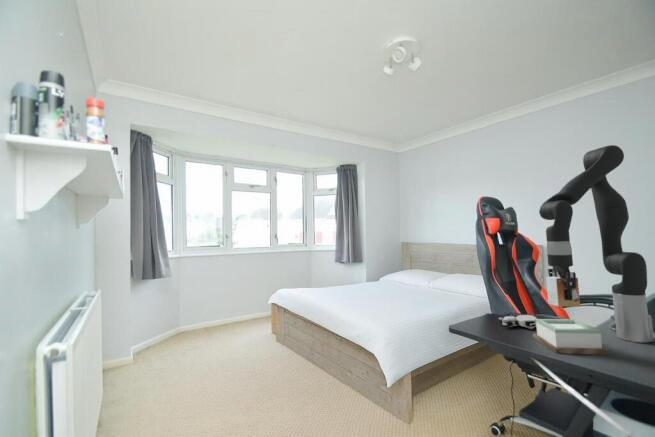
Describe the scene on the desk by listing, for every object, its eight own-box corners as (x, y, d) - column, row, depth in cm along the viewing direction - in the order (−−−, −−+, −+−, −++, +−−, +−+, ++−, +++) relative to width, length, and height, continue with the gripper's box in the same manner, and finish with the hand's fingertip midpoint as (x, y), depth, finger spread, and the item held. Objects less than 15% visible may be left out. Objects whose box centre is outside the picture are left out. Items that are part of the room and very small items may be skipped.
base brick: (577, 335, 118) (575, 319, 118) (602, 348, 104) (600, 330, 105) (537, 334, 120) (535, 319, 121) (556, 347, 107) (554, 329, 107)
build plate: (578, 338, 119) (577, 334, 119) (609, 354, 102) (608, 350, 102) (533, 337, 122) (532, 333, 122) (556, 353, 105) (555, 348, 105)
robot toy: (503, 331, 134) (543, 331, 129) (502, 321, 134) (541, 320, 129) (498, 323, 145) (534, 323, 140) (497, 314, 146) (533, 313, 141)
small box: (558, 307, 111) (555, 278, 111) (547, 304, 116) (545, 276, 117) (581, 306, 110) (578, 277, 111) (569, 303, 116) (566, 275, 117)
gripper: (582, 254, 107) (587, 302, 106) (559, 252, 121) (563, 294, 120) (558, 254, 108) (563, 302, 107) (538, 252, 122) (542, 294, 121)
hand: (563, 298), depth 113 cm, fingers closed on small box, 6 cm apart
